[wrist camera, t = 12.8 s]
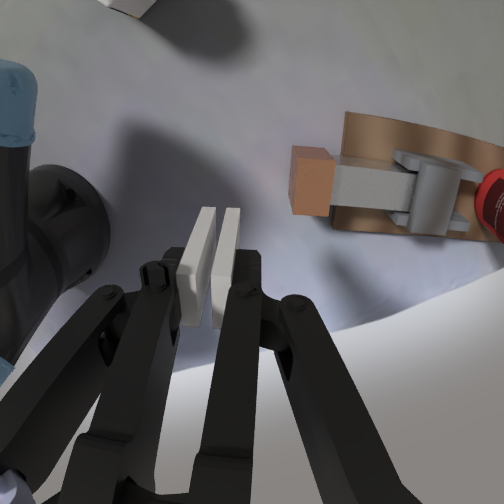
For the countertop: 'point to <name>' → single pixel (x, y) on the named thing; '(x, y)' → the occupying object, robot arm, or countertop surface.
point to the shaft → (346, 183)
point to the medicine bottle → (129, 6)
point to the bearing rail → (421, 140)
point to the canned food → (491, 202)
